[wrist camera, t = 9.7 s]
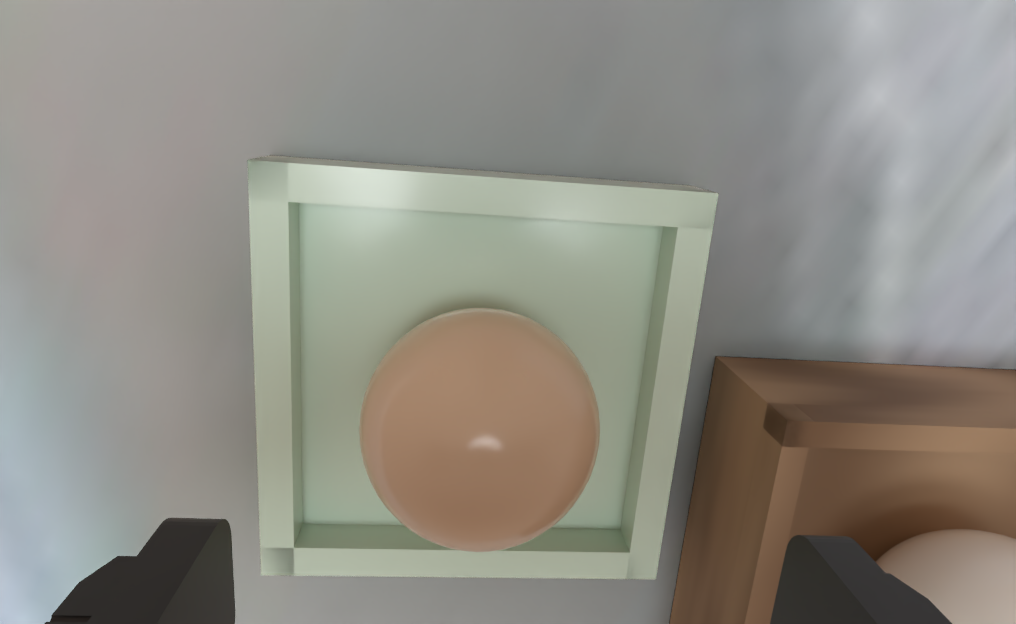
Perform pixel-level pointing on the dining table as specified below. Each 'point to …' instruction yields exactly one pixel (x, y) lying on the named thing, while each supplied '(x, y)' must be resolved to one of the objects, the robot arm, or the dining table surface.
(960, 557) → the white egg
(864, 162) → the dining table surface
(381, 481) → the brown egg
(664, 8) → the dining table surface
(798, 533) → the egg tray
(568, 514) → the dish
